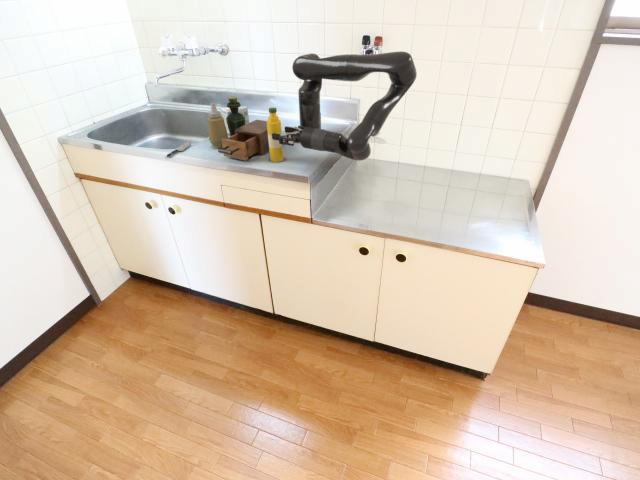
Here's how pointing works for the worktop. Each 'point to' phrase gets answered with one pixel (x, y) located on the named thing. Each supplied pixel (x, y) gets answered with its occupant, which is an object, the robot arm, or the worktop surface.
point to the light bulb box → (241, 110)
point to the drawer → (240, 146)
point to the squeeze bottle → (216, 127)
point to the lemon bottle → (272, 127)
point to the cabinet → (257, 134)
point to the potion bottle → (234, 116)
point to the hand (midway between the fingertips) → (279, 132)
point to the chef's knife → (180, 148)
